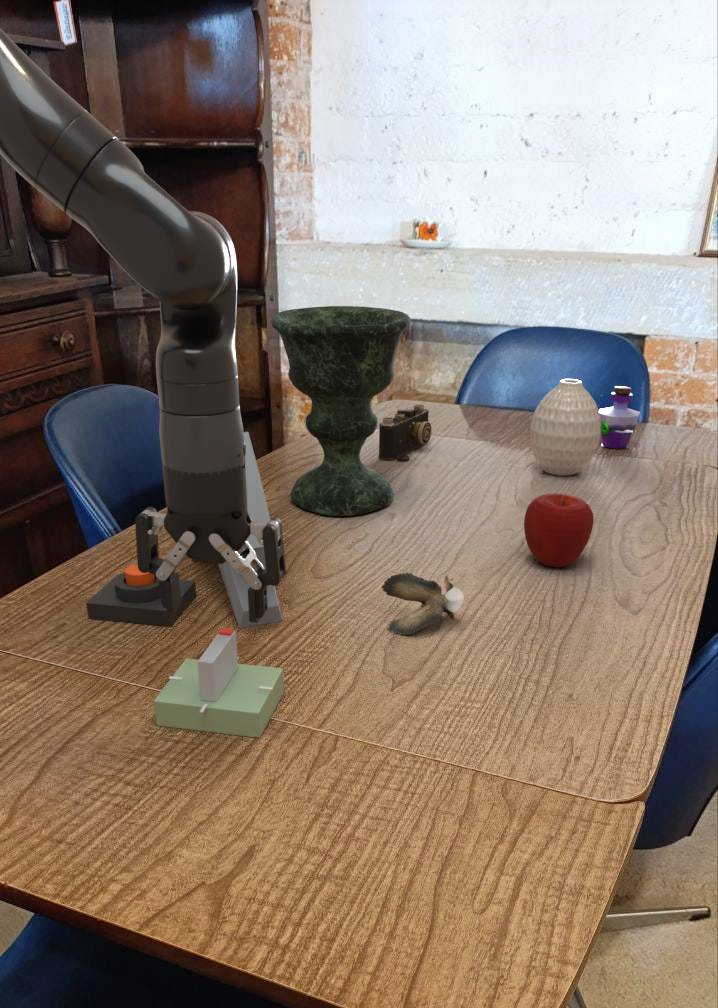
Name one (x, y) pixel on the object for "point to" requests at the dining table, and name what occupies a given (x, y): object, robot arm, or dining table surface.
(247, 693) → the base
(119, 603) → the button box
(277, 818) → the dining table surface
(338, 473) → the goblet
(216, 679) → the grey flat block
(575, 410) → the vase
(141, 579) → the button
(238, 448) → the robot arm
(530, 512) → the apple
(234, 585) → the bracket
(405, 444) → the camera
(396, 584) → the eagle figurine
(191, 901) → the dining table surface
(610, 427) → the potion bottle
